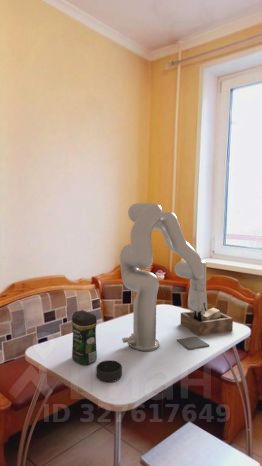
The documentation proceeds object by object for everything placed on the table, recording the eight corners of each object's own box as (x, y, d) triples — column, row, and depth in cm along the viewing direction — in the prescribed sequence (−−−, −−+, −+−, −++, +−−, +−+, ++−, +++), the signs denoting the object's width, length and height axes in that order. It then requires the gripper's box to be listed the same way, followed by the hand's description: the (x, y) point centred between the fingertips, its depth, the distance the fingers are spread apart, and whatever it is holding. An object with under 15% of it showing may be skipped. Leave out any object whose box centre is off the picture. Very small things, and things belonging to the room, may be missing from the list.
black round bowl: (127, 376, 113) (127, 365, 113) (107, 386, 107) (107, 374, 106) (110, 367, 119) (110, 357, 119) (90, 376, 113) (90, 365, 113)
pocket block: (198, 336, 149) (198, 323, 148) (180, 324, 164) (180, 312, 163) (232, 330, 156) (232, 318, 155) (212, 319, 171) (212, 308, 170)
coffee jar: (68, 358, 126) (68, 311, 125) (86, 352, 131) (85, 307, 130) (82, 367, 119) (82, 317, 117) (100, 361, 124) (100, 313, 122)
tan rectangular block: (207, 322, 157) (206, 317, 156) (201, 319, 162) (200, 313, 161) (221, 315, 160) (219, 310, 159) (214, 312, 164) (213, 307, 164)
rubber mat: (188, 349, 134) (188, 348, 134) (176, 340, 143) (176, 339, 143) (209, 346, 138) (209, 344, 138) (196, 337, 147) (196, 336, 147)
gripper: (183, 283, 162) (182, 319, 163) (200, 290, 148) (199, 330, 150) (196, 282, 165) (195, 317, 166) (214, 289, 151) (213, 328, 152)
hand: (197, 323), depth 158 cm, fingers closed
